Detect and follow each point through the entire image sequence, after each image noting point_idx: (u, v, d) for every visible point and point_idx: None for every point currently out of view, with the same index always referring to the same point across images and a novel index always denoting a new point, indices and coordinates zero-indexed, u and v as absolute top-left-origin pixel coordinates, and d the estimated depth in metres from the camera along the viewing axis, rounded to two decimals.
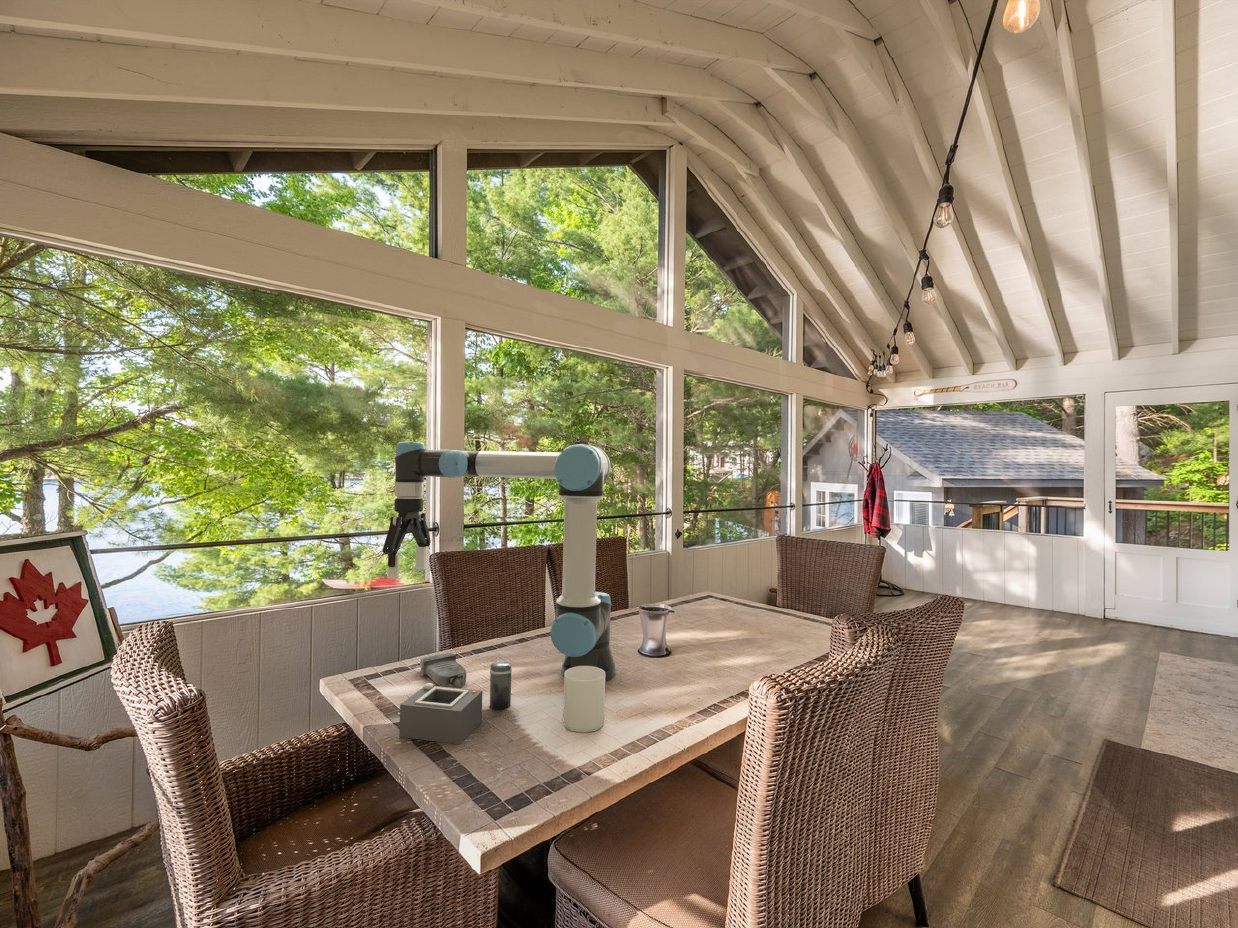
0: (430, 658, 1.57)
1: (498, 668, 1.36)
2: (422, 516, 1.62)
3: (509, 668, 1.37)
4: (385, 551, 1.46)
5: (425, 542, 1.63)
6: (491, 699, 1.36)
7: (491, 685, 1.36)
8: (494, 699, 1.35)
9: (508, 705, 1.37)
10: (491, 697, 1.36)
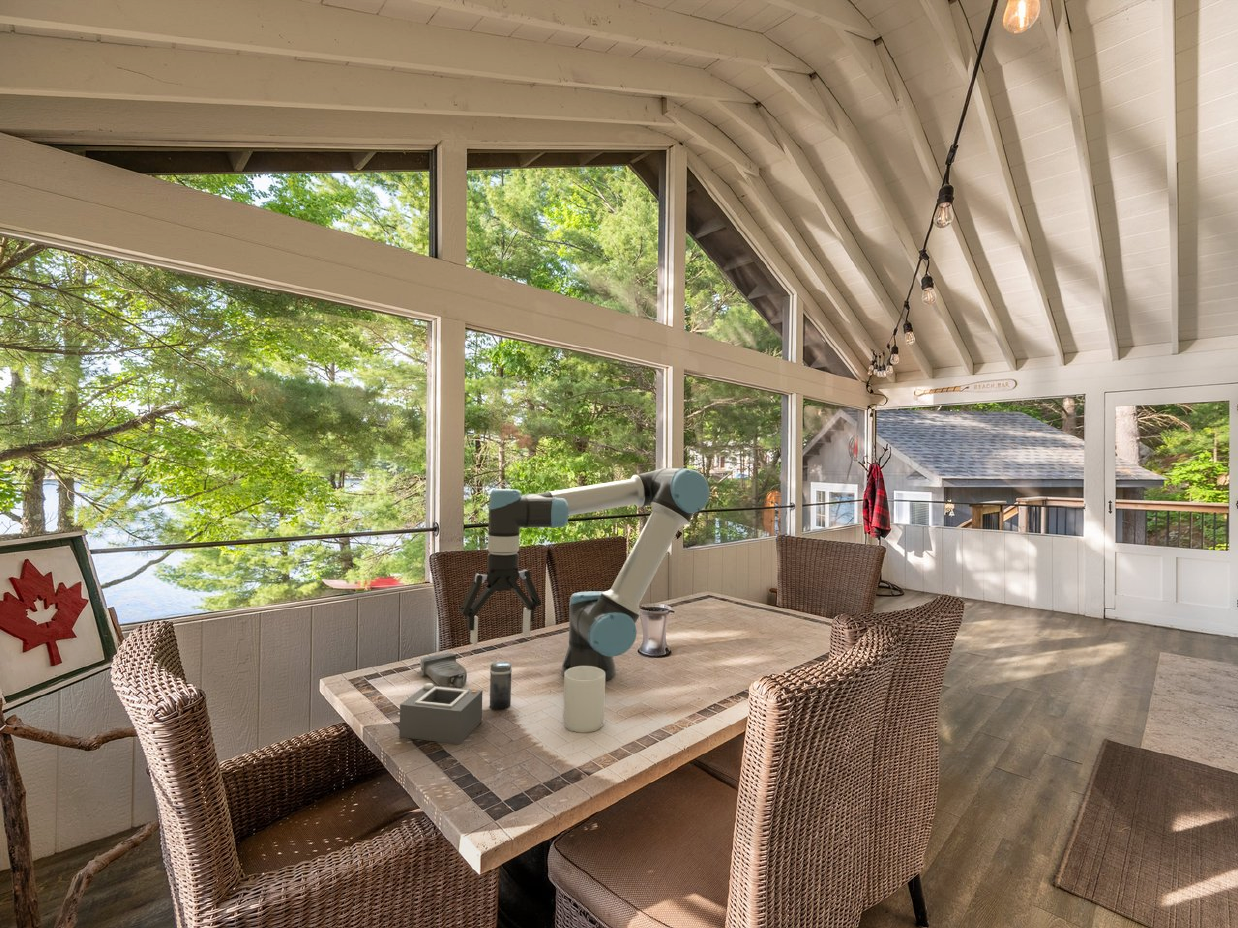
0: (430, 658, 1.57)
1: (498, 668, 1.36)
2: (525, 574, 1.40)
3: (509, 668, 1.37)
4: (460, 612, 1.32)
5: (530, 604, 1.41)
6: (491, 699, 1.36)
7: (491, 685, 1.36)
8: (494, 699, 1.35)
9: (508, 705, 1.37)
10: (491, 697, 1.36)
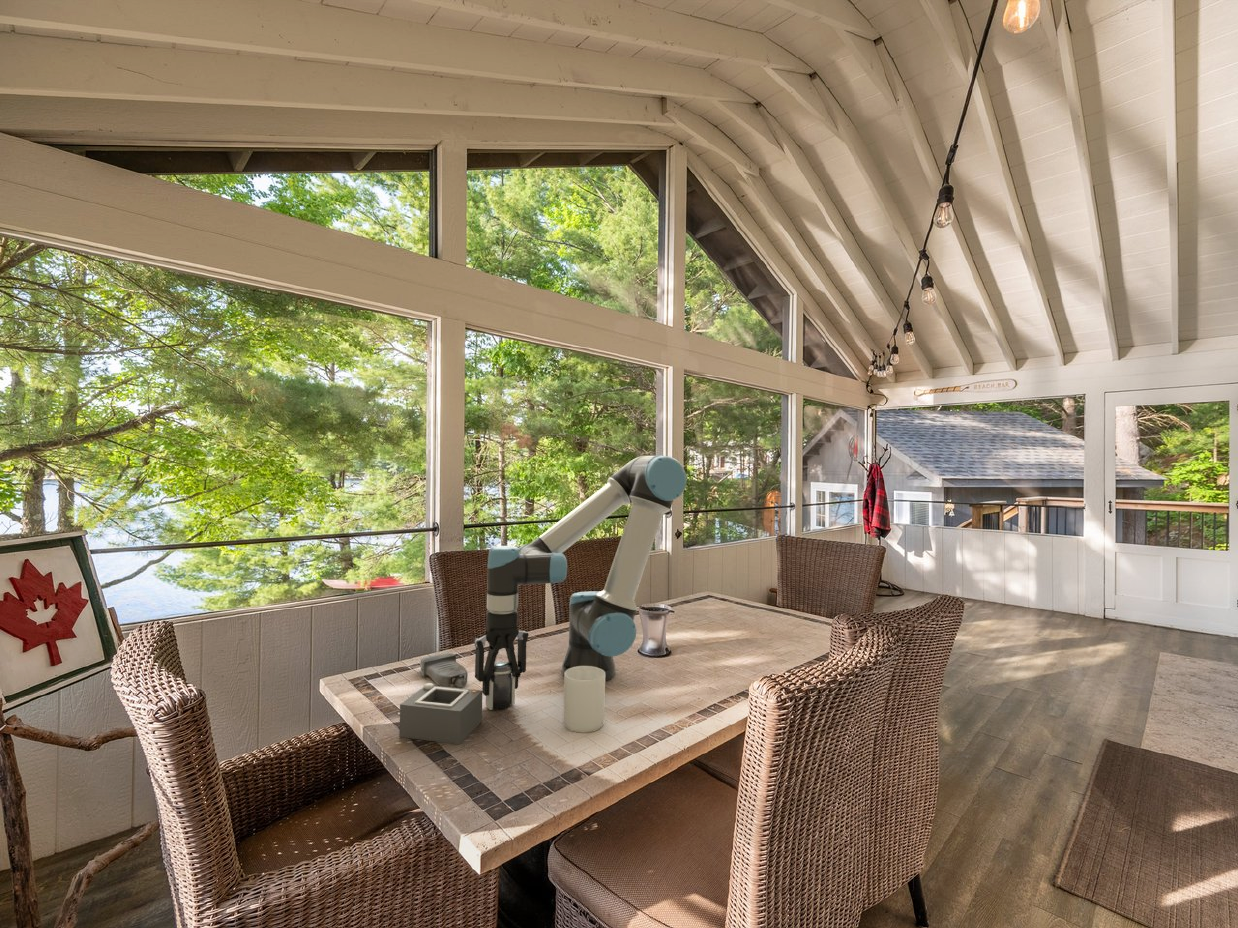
0: (430, 658, 1.57)
1: (498, 668, 1.36)
2: (523, 635, 1.40)
3: (509, 668, 1.37)
4: (476, 677, 1.35)
5: (516, 671, 1.39)
6: None
7: None
8: (494, 699, 1.35)
9: (508, 705, 1.37)
10: None
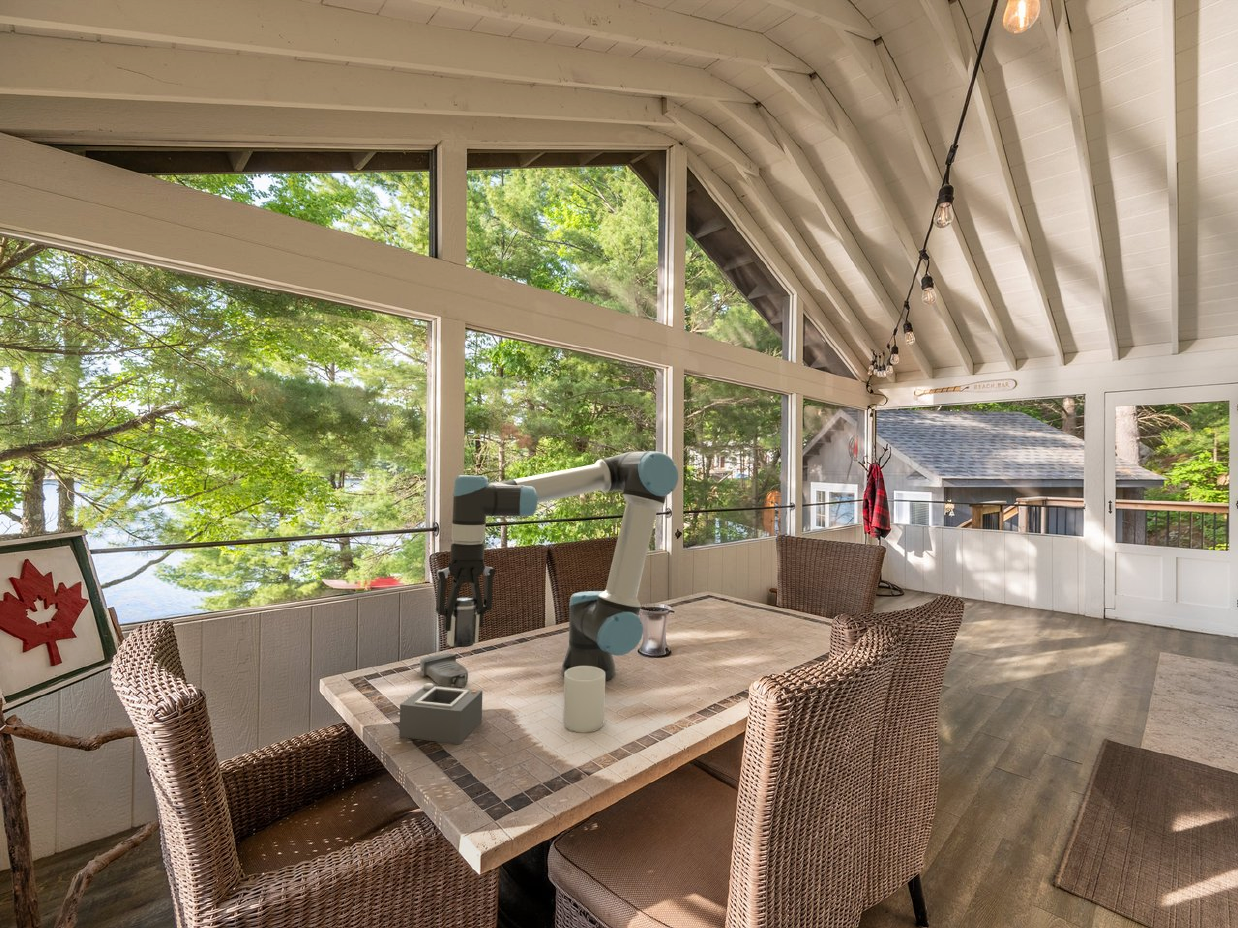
0: (430, 659, 1.57)
1: (461, 602, 1.28)
2: (490, 571, 1.32)
3: (473, 603, 1.29)
4: (437, 611, 1.27)
5: (480, 608, 1.31)
6: None
7: None
8: (456, 635, 1.28)
9: (471, 643, 1.29)
10: None
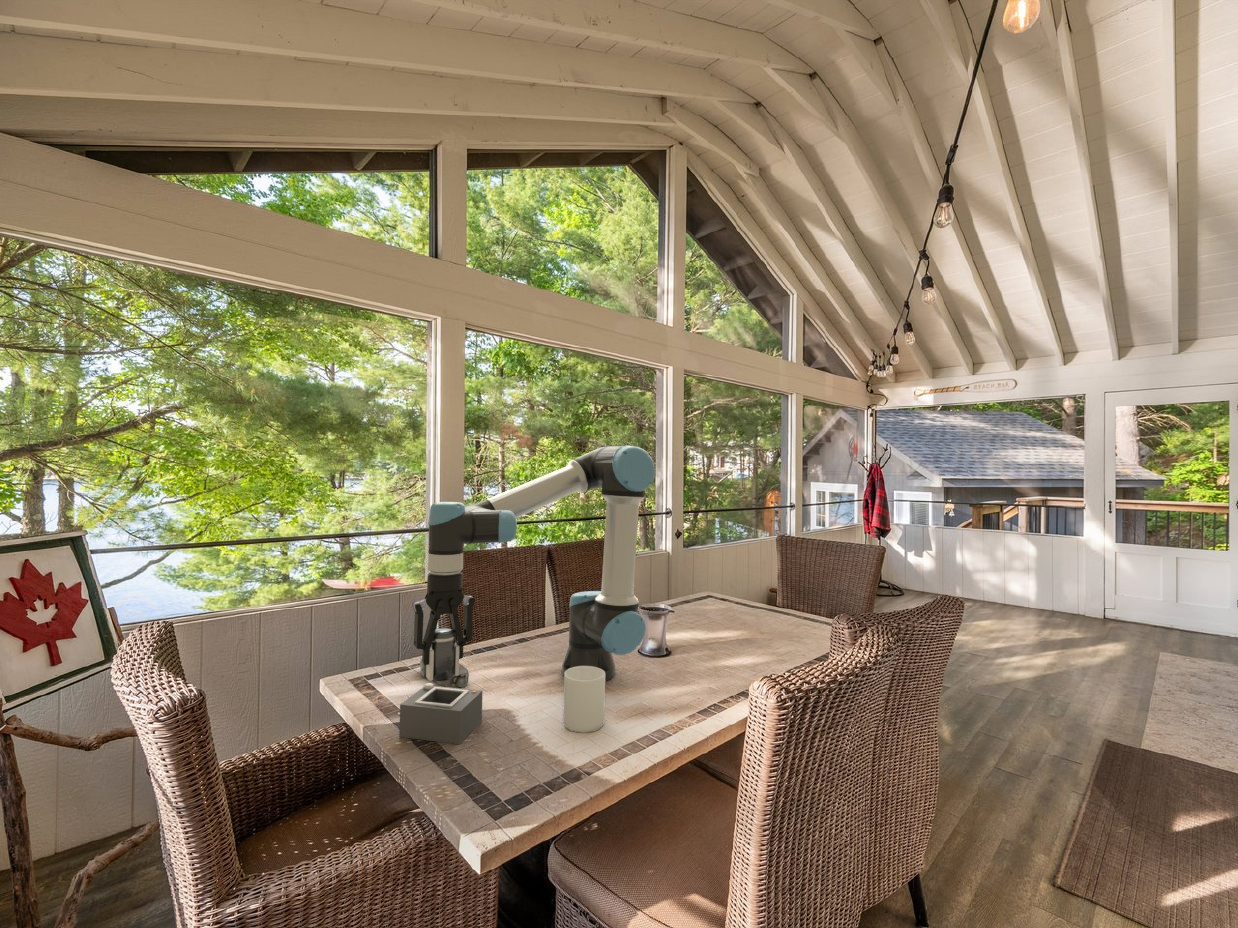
0: None
1: (440, 634, 1.23)
2: (469, 600, 1.28)
3: (452, 635, 1.24)
4: (414, 645, 1.22)
5: (460, 639, 1.26)
6: None
7: None
8: (435, 669, 1.23)
9: (450, 676, 1.24)
10: None
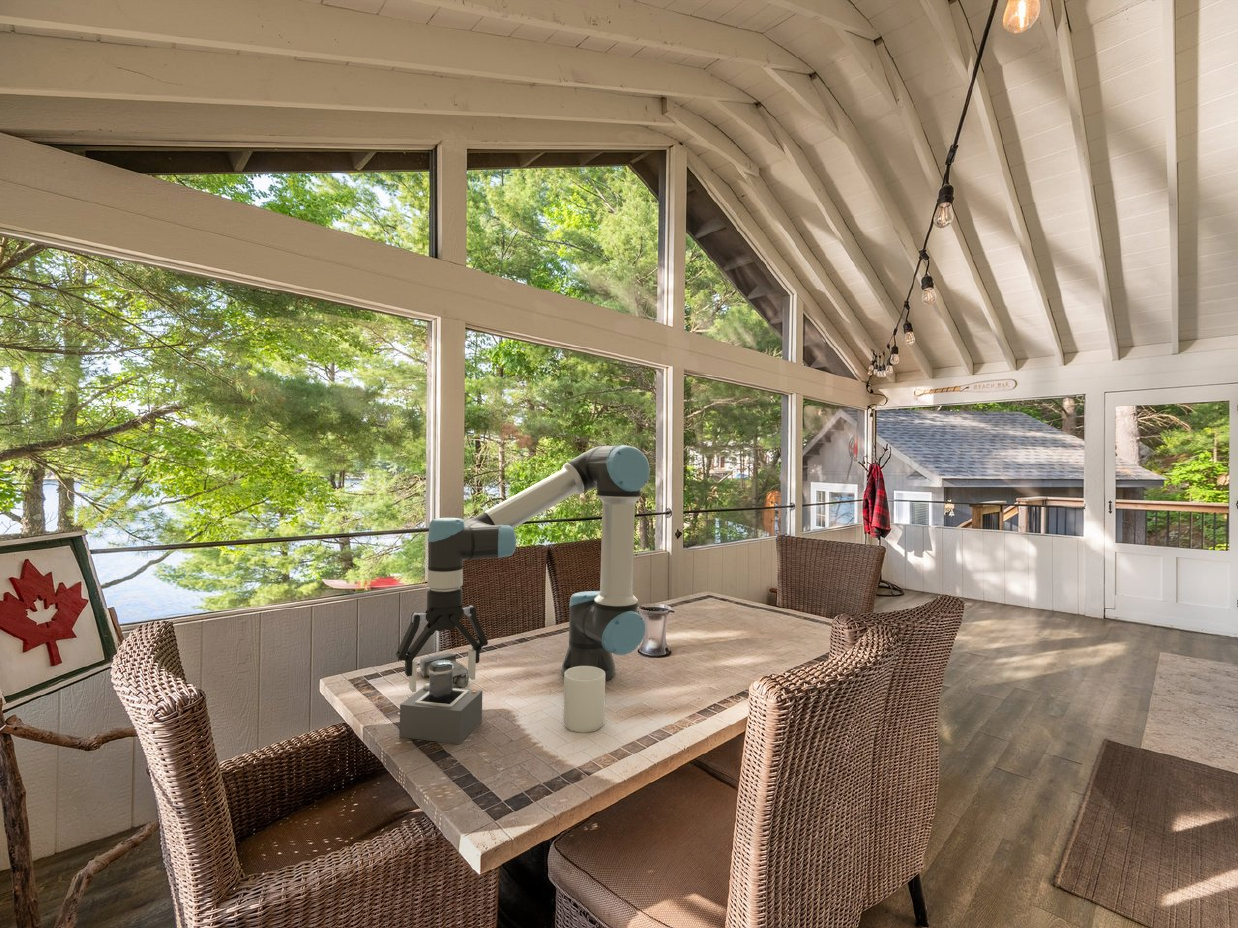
0: (430, 659, 1.57)
1: (437, 667, 1.23)
2: (470, 611, 1.28)
3: (450, 667, 1.24)
4: (397, 656, 1.20)
5: (475, 644, 1.28)
6: (430, 701, 1.24)
7: (430, 686, 1.24)
8: (433, 701, 1.23)
9: None
10: (430, 699, 1.24)
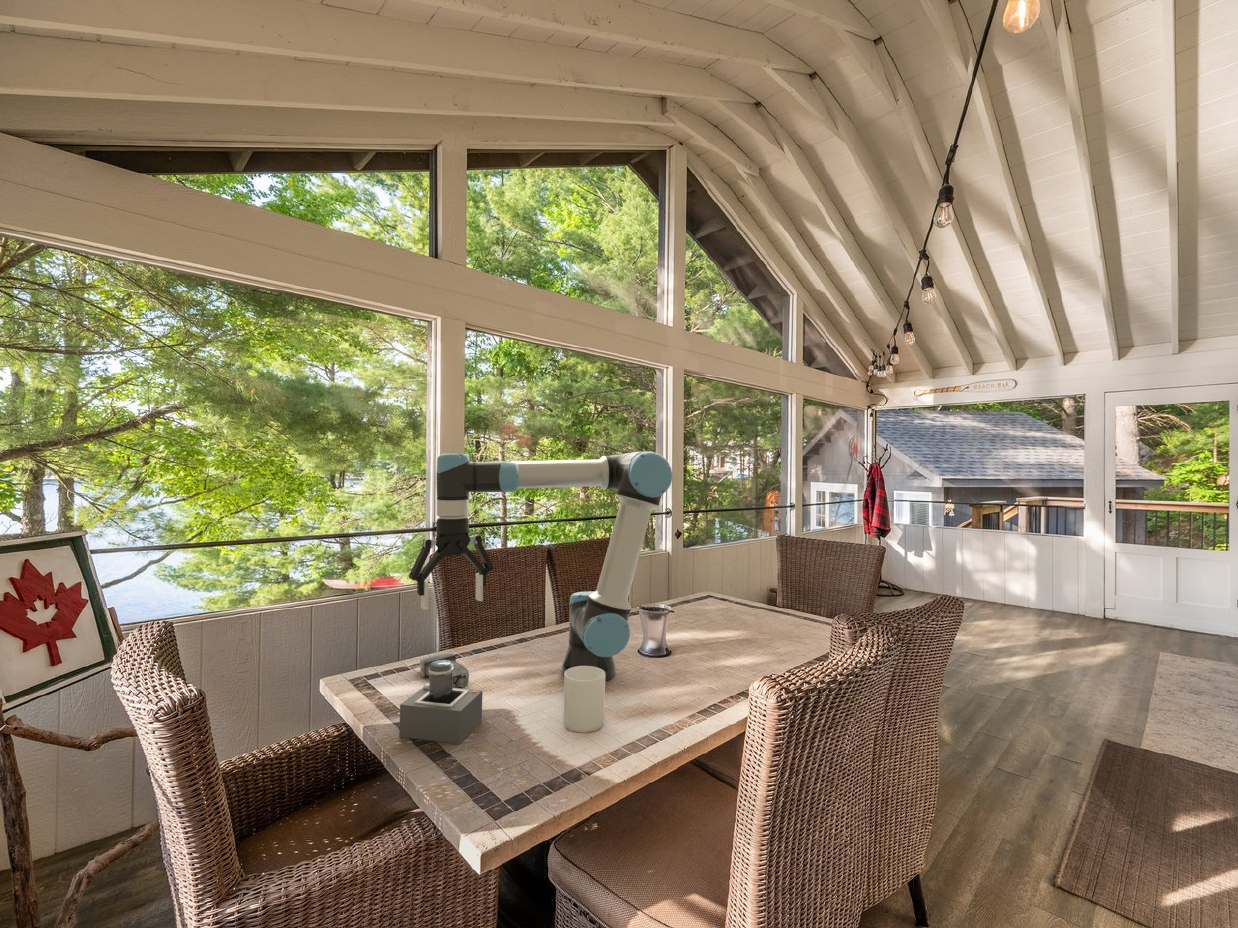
0: (430, 659, 1.57)
1: (437, 667, 1.23)
2: (476, 539, 1.39)
3: (450, 667, 1.24)
4: (410, 577, 1.31)
5: (482, 569, 1.40)
6: (430, 701, 1.24)
7: (430, 686, 1.24)
8: (433, 701, 1.23)
9: None
10: (430, 699, 1.24)
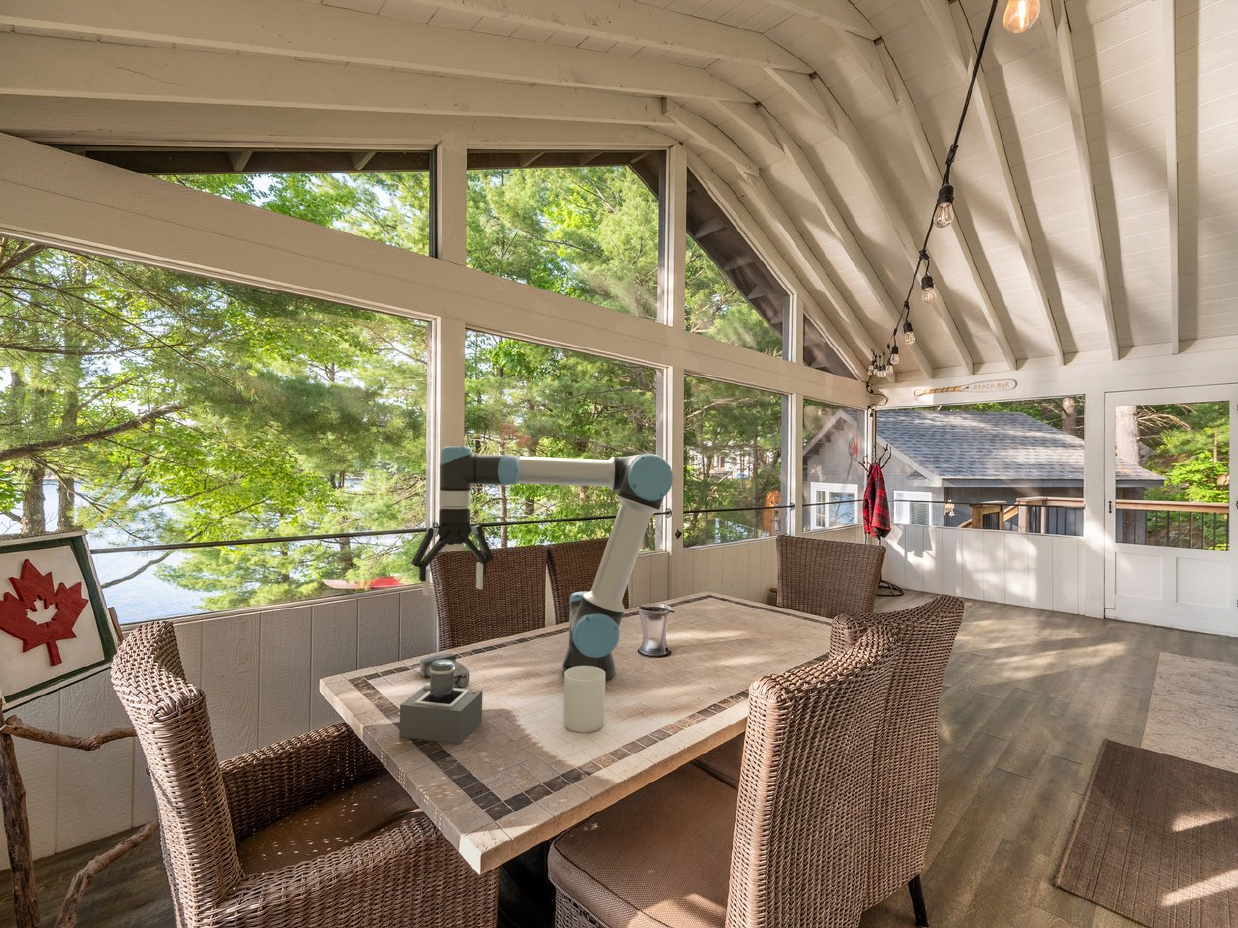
0: (430, 659, 1.57)
1: (439, 667, 1.23)
2: (477, 529, 1.45)
3: (451, 667, 1.24)
4: (412, 563, 1.37)
5: (482, 558, 1.45)
6: (430, 701, 1.24)
7: (431, 685, 1.24)
8: (433, 701, 1.23)
9: None
10: (430, 698, 1.24)
